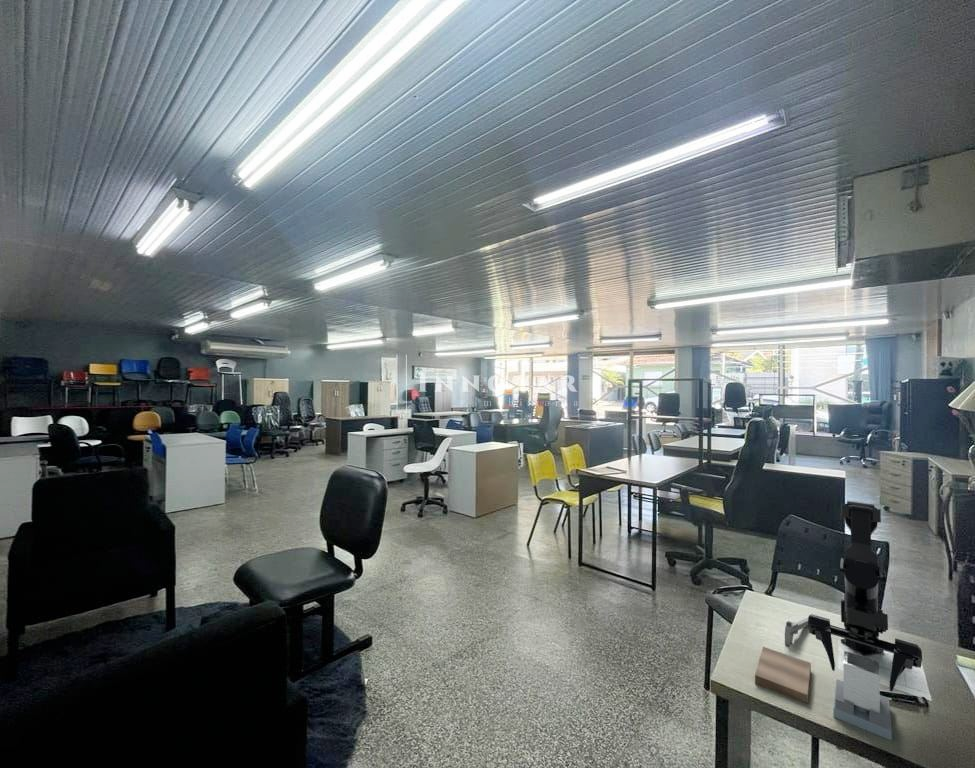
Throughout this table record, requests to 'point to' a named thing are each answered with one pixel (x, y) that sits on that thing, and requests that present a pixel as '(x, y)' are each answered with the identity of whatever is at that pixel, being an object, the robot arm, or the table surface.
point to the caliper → (793, 629)
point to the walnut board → (784, 674)
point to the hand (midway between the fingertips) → (861, 680)
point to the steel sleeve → (861, 681)
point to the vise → (863, 714)
